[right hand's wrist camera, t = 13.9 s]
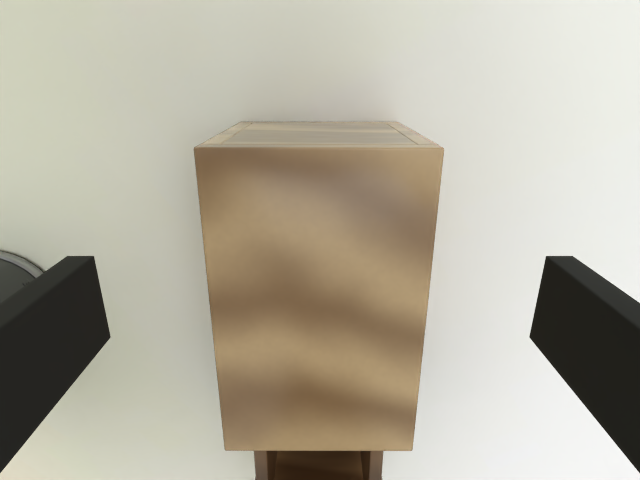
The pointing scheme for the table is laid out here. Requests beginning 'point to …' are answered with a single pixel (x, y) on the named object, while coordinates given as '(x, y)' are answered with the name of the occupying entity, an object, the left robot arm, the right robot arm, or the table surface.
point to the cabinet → (318, 280)
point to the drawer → (318, 465)
